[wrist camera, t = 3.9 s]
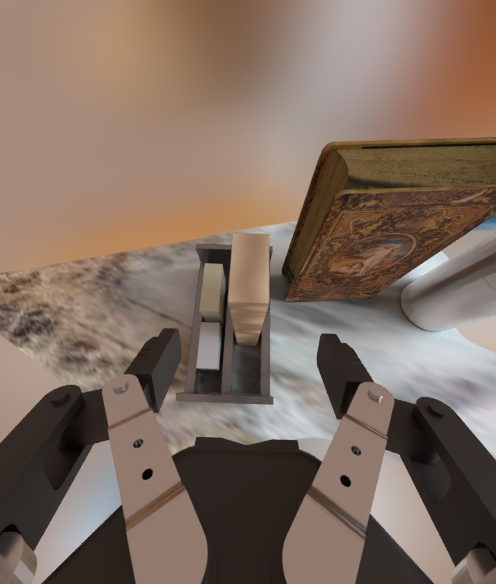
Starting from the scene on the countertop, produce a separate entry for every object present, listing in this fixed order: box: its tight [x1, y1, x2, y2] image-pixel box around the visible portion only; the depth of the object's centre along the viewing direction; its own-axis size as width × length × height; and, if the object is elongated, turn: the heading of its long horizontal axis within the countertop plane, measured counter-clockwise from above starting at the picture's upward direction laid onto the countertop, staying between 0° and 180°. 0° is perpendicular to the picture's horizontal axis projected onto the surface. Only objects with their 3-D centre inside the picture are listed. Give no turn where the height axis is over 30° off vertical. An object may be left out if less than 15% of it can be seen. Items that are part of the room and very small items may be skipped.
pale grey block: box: [196, 322, 224, 371], centre depth 34 cm, size 2×6×7 cm, turn 178°
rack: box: [175, 244, 273, 405], centre depth 35 cm, size 12×22×8 cm, turn 178°
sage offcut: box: [199, 263, 227, 327], centre depth 36 cm, size 2×7×9 cm, turn 178°
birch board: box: [228, 233, 269, 346], centre depth 28 cm, size 3×6×22 cm, turn 178°
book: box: [282, 137, 496, 302], centre depth 30 cm, size 16×6×25 cm, turn 93°
